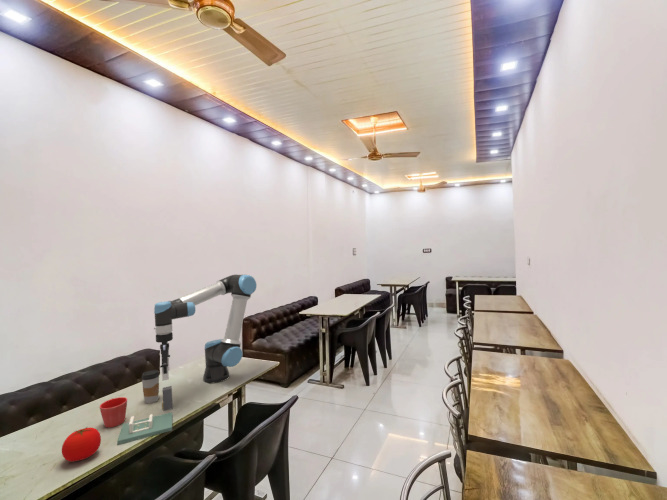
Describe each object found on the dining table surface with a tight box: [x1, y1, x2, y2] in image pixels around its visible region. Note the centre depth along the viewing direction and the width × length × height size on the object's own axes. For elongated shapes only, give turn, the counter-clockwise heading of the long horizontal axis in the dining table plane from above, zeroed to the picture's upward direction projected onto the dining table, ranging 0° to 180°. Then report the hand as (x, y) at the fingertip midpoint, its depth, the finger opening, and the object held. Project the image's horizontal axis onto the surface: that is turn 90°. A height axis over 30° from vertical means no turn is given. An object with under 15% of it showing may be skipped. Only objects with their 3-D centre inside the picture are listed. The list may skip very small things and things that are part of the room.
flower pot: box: [99, 396, 128, 429], centre depth 149 cm, size 11×11×10 cm
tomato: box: [61, 426, 102, 463], centre depth 124 cm, size 12×12×10 cm
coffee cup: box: [141, 369, 160, 404], centre depth 170 cm, size 8×8×15 cm
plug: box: [161, 385, 173, 412], centre depth 161 cm, size 5×4×10 cm
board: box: [116, 411, 173, 446], centre depth 142 cm, size 20×15×6 cm
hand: (166, 375), depth 161 cm, fingers open, 13 cm apart
